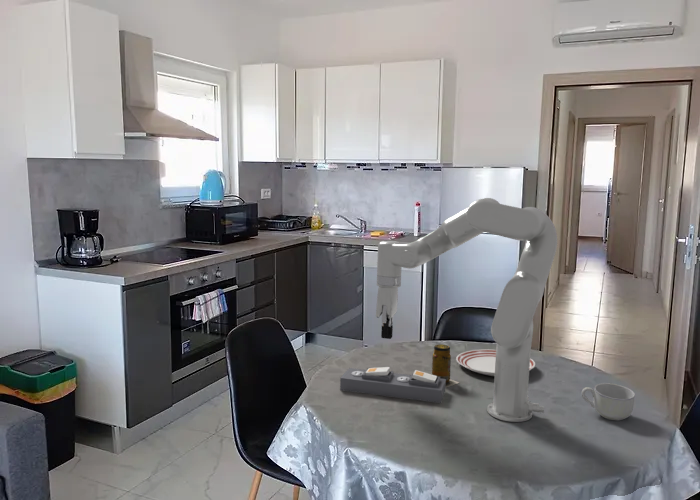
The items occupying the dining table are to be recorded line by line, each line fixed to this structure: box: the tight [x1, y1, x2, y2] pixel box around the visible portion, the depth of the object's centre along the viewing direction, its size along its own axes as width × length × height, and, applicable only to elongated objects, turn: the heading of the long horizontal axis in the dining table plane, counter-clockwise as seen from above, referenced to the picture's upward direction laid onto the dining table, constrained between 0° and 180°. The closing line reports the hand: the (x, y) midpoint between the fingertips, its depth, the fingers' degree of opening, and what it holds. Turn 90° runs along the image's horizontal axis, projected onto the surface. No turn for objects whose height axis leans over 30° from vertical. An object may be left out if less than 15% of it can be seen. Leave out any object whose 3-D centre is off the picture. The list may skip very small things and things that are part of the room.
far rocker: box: [366, 366, 391, 376], centre depth 184 cm, size 7×4×1 cm, turn 73°
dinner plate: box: [455, 348, 536, 377], centre depth 207 cm, size 28×27×3 cm
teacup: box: [581, 382, 636, 421], centre depth 167 cm, size 14×11×8 cm
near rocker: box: [412, 369, 437, 383], centre depth 180 cm, size 7×4×1 cm, turn 73°
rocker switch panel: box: [339, 367, 447, 404], centre depth 183 cm, size 32×10×5 cm, turn 73°
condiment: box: [431, 343, 460, 388], centre depth 191 cm, size 7×8×12 cm
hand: (386, 337), depth 182 cm, fingers closed
